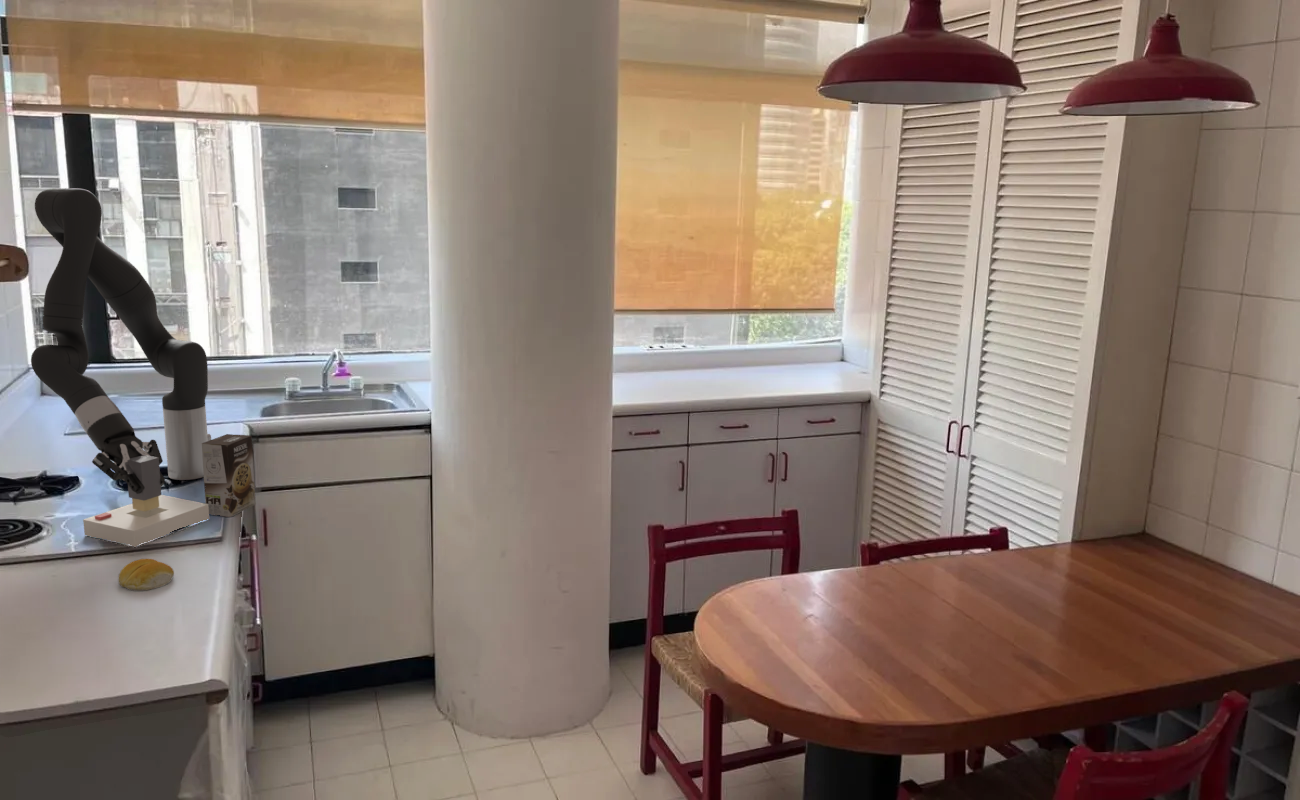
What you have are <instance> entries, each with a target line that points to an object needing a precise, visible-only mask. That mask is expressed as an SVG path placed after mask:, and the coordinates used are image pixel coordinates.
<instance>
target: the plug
mask: <svg viewBox="0 0 1300 800" xmlns="http://www.w3.org/2000/svg"><path fill="white" fill-rule="evenodd" d="M128 462H129V466H130V467H131V469H132V471H133V473H132V474H135V475H136V476H137V477H138V479H139V480H140V482H141V483H142V484H143V485H144V487H145V489H144V490H143V491H142V492H141V493H139V494H136V492H134V491H132V490H131V488H130V486H129V485H128V484H127V491H128V498H129V499H131V501H132V503H133V509H136V510H141V511H148V510H151V509H154V508H157V507H159V496H160V495H162V487H161V484H160V473H161V471H160V470H161V469H160V465H159V458H158V457H153V456H147V455H144V456H138V457H134V458H130V459H129V460H128ZM132 503H131V504H132Z"/></svg>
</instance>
